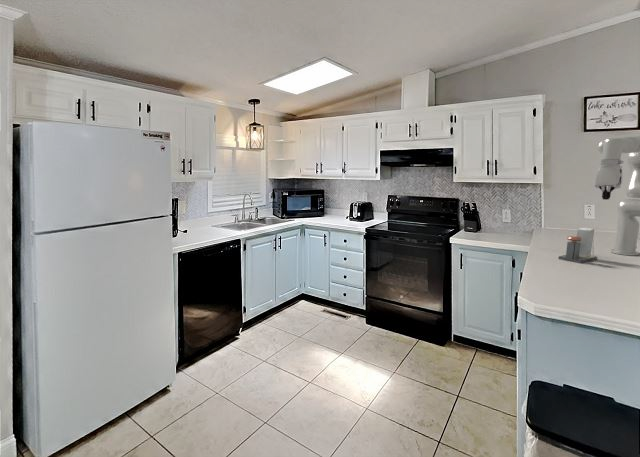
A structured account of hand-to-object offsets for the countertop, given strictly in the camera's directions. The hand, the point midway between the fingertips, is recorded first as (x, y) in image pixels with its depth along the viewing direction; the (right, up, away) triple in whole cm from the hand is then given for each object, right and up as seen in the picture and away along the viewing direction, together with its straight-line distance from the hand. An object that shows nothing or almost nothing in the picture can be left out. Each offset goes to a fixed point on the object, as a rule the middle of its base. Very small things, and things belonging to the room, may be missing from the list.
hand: (605, 199), depth 186 cm
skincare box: (-3, -30, +12) cm, 32 cm away
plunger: (-12, -29, +7) cm, 32 cm away
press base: (-7, -32, +10) cm, 34 cm away
